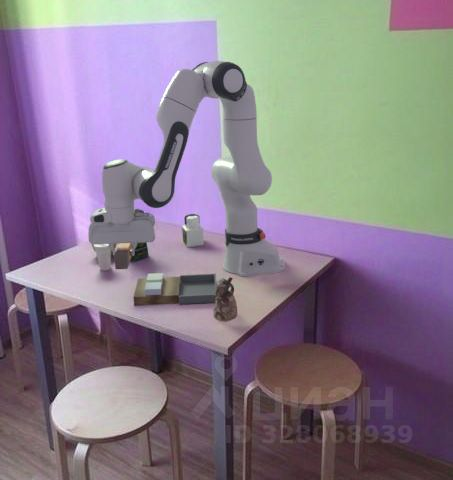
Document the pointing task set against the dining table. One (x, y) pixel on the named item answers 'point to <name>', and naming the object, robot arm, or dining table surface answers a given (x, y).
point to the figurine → (225, 301)
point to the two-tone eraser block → (122, 256)
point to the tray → (197, 289)
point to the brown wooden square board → (167, 295)
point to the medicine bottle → (192, 231)
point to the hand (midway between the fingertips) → (124, 255)
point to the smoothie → (103, 256)
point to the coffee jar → (140, 246)
